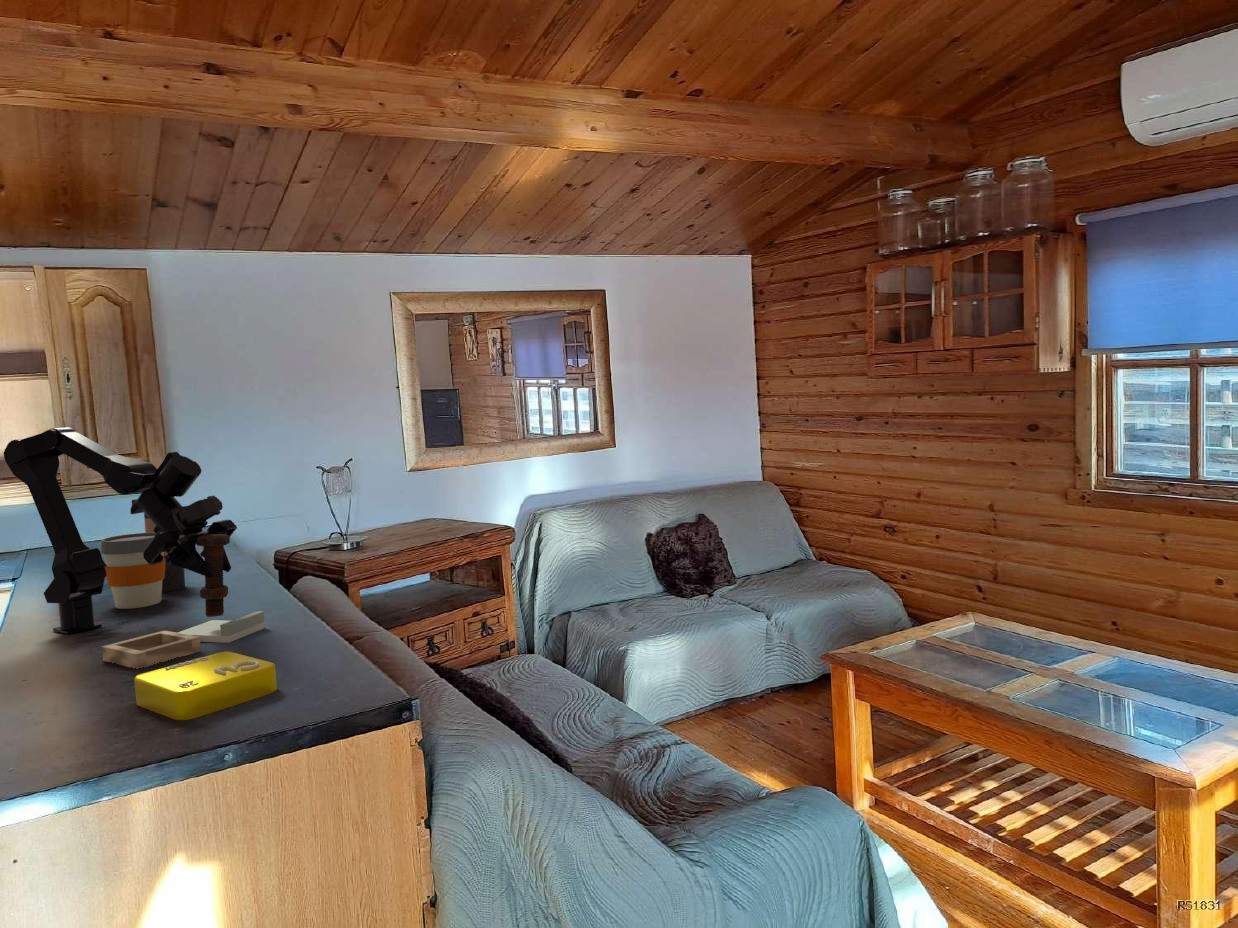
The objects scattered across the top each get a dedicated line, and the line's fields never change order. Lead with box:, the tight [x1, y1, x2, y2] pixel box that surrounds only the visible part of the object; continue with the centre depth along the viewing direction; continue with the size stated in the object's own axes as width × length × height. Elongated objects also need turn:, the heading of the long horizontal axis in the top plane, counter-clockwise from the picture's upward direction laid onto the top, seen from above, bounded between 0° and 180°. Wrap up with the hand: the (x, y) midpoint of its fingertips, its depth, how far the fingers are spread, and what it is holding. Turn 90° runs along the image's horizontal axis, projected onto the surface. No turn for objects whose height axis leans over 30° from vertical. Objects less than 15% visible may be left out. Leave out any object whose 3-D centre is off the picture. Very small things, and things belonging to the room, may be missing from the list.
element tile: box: [133, 651, 278, 721], centre depth 128 cm, size 15×15×5 cm
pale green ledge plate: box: [177, 610, 266, 644], centre depth 163 cm, size 12×10×3 cm
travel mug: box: [143, 512, 186, 593], centre depth 208 cm, size 8×8×20 cm
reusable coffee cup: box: [100, 532, 165, 610], centre depth 193 cm, size 13×13×15 cm
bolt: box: [196, 534, 231, 618], centre depth 162 cm, size 6×5×15 cm
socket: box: [101, 629, 202, 670], centre depth 151 cm, size 11×11×2 cm
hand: (220, 572), depth 162 cm, fingers closed on bolt, 4 cm apart
